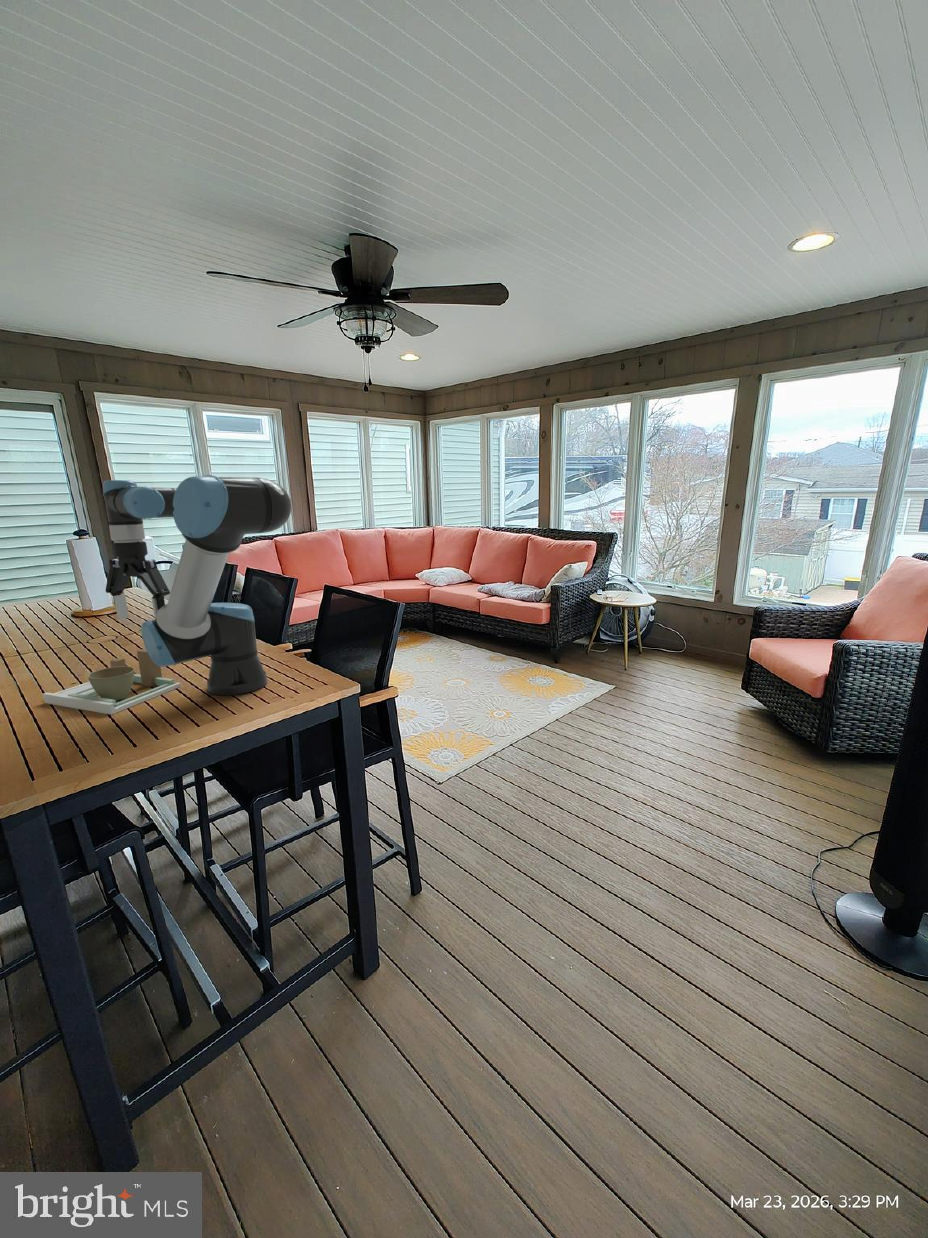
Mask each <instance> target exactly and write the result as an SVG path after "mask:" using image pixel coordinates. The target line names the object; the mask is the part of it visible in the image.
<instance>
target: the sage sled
mask: <svg viewBox="0 0 928 1238" xmlns="http://www.w3.org/2000/svg"><path fill="white" fill-rule="evenodd" d="M136 654H137V661H138V666H139V673H140V674H137V673H135V674H134V681H133V683H136V684H141V685H142V687H143V686H144V687H154V688H151V689H149V690H147V691H144V692H141V693H139V694H136V695H134V696H132V697H129V698H125V699H122V700H119V701H117V702H116V701H115V700H113V699H106V698H101V697H100V696H99V695H98V694H97V693H96V691H95V690H94V691H92V692H89V693H86V694H83V695H81V694H75V693H71V694H68V696H72V697H78V698H84V699H90V700H96V701H103V702H109V703H114V707H117V706H120V705H122V704H125V703H127V702H130V701H132V700H135V699H137V698H140V697H143V696H145V695H148V694H150V693H153V692H155V691H158V690H160V689H163V688H165V687H168V686H170V685H173V684H175V679H174V678H166V677H163V674H162V667H160V666H158V665H156V664H155V663H154V662H153V661H152V660H151V658H150V657H149V655H148V653H147V650H146V648H145V647H144V648H143V649H138V650H136ZM155 686H156V687H155ZM98 696H99V697H98Z"/></svg>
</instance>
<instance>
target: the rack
mask: <svg viewBox="0 0 928 1238" xmlns="http://www.w3.org/2000/svg"><path fill="white" fill-rule="evenodd" d="M89 683H90V681H87V682H84V683H82V684H78V685H76V686H72V687H68V688H66V689H62V690H60V691H57V692H54V693H52V692H44V693H42V697H43V700H44V701H43V702H44V704H48V705H54V706H59V707H65V708H72V709H76V710H83V711H89V712H95V713H101V714H105V715H106V714H107V715H114V714H116V713H117V714H118V713H119V712H121V711H123V710H126V709H129V708H131V707H134V706H136V705H139V704H141V703H143V702H146V701H149V700H151V699H153V698H156V697H158V696H161V695H163V694H165V693H168V692H170V691H174V690H175V689H177V688H178V689H179V688H180V687H182V683H181V682H176V683H175V682H174V683H175V684H173V685H170V686H168V687H165V688H163V689H160V690H158V691H155V692H153V693H150V694H148V695H145V696H143V697H140V698H137V699H135V700H132V701H130V702H127V703H125V704H122V705H120V706H117V707H114V703H109V702H103V701H96V700H90V699H84V698H78V697H72V696H66V695H60V694H59V693H62V692H65V691H68V690H71V689H74V688H77V687H80V686H83V685H86V684H89ZM92 691H94V689H93V690H90V691H87V692H84V693H81V695H83V694H86V693H89V692H92Z"/></svg>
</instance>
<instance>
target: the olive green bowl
mask: <svg viewBox="0 0 928 1238" xmlns="http://www.w3.org/2000/svg"><path fill="white" fill-rule="evenodd" d="M135 670H136V669H135V667H133V666H128V665H126V666H119V667H111V666H109V667H105V668H100V669H98V670H97V669H96V670H95V671H92V672H90V673H89V674H87V677H88V682H90V683H91V685H92V687H93V689H94V690H95V691H96V693H97V694H98V695H97V696H99V697H100V698H106V699H113V700H115V702H116V701H117V702H118V701H122V700H125V699H127V697H128V696H129V695H130V691H131V690H132V686H133V684H134V682H133V681H134V674H136V673H135Z"/></svg>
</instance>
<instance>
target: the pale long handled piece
mask: <svg viewBox="0 0 928 1238" xmlns="http://www.w3.org/2000/svg"><path fill="white" fill-rule="evenodd" d="M109 663H110V667H119V666H127V665H126V659H125V658H123V657H122V658H121V657H117V658H114V659H110V660H109ZM90 690H93V687H92V685H91V683H89V684H86V685H83V686H80V687H77V688H74V689H71V690H68V691H65V692H62V693H59V694H60V695H66V696H68V694H71V693H75V694H81V693H84V692H87V691H90Z"/></svg>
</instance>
